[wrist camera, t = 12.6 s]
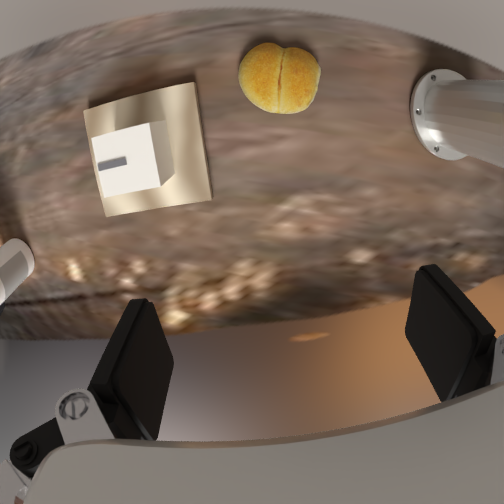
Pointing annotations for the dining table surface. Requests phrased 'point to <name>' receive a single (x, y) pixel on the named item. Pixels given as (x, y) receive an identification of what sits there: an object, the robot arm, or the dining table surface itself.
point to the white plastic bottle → (14, 266)
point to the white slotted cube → (133, 158)
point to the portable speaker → (1, 307)
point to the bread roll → (279, 78)
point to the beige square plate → (180, 138)
